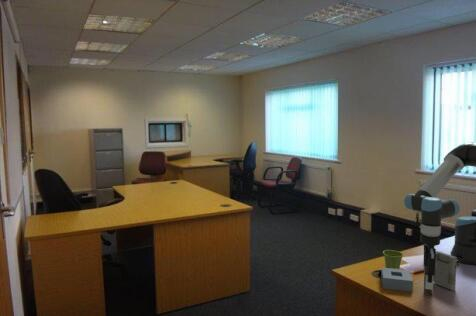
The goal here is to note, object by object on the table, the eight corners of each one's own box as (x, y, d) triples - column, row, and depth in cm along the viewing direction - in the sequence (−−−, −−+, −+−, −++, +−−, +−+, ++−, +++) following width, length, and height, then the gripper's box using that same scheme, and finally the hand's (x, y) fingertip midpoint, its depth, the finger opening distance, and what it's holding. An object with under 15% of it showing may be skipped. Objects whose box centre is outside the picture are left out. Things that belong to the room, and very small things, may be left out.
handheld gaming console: (456, 289, 161) (457, 256, 159) (451, 291, 159) (452, 258, 158) (436, 281, 169) (437, 250, 167) (431, 283, 167) (432, 251, 166)
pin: (431, 292, 158) (432, 265, 157) (432, 295, 155) (433, 268, 154) (423, 291, 159) (424, 265, 158) (424, 294, 156) (425, 268, 155)
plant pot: (393, 265, 189) (393, 249, 188) (407, 272, 180) (407, 255, 179) (378, 267, 186) (378, 251, 185) (391, 275, 177) (392, 257, 176)
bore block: (408, 280, 170) (409, 270, 170) (412, 291, 159) (413, 280, 159) (381, 277, 174) (381, 267, 174) (383, 288, 163) (383, 277, 162)
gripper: (417, 228, 163) (415, 278, 166) (424, 239, 148) (421, 294, 150) (436, 229, 161) (433, 280, 163) (444, 240, 146) (442, 296, 148)
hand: (428, 286), depth 157 cm, fingers closed on pin, 3 cm apart
